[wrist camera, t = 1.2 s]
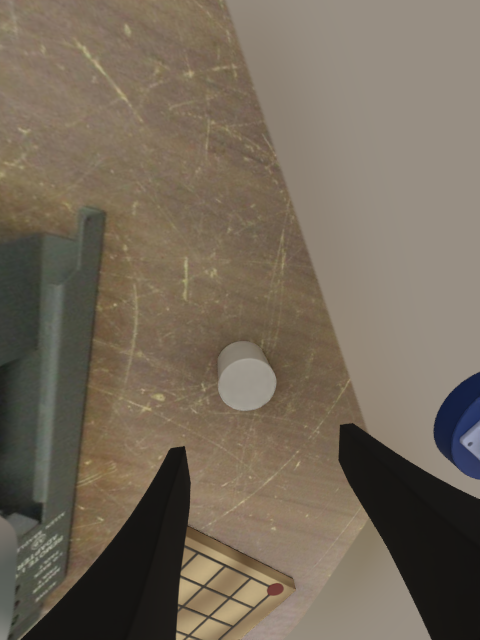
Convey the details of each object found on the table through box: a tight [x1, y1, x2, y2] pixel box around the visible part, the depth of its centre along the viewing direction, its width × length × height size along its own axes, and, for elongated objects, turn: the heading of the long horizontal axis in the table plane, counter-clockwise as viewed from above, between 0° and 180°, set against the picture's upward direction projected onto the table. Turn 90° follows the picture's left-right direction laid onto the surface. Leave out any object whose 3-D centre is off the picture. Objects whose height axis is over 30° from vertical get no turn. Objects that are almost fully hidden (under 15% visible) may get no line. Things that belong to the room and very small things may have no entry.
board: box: [176, 526, 296, 640], centre depth 27 cm, size 18×24×1 cm
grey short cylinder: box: [217, 341, 276, 411], centre depth 19 cm, size 4×4×3 cm
